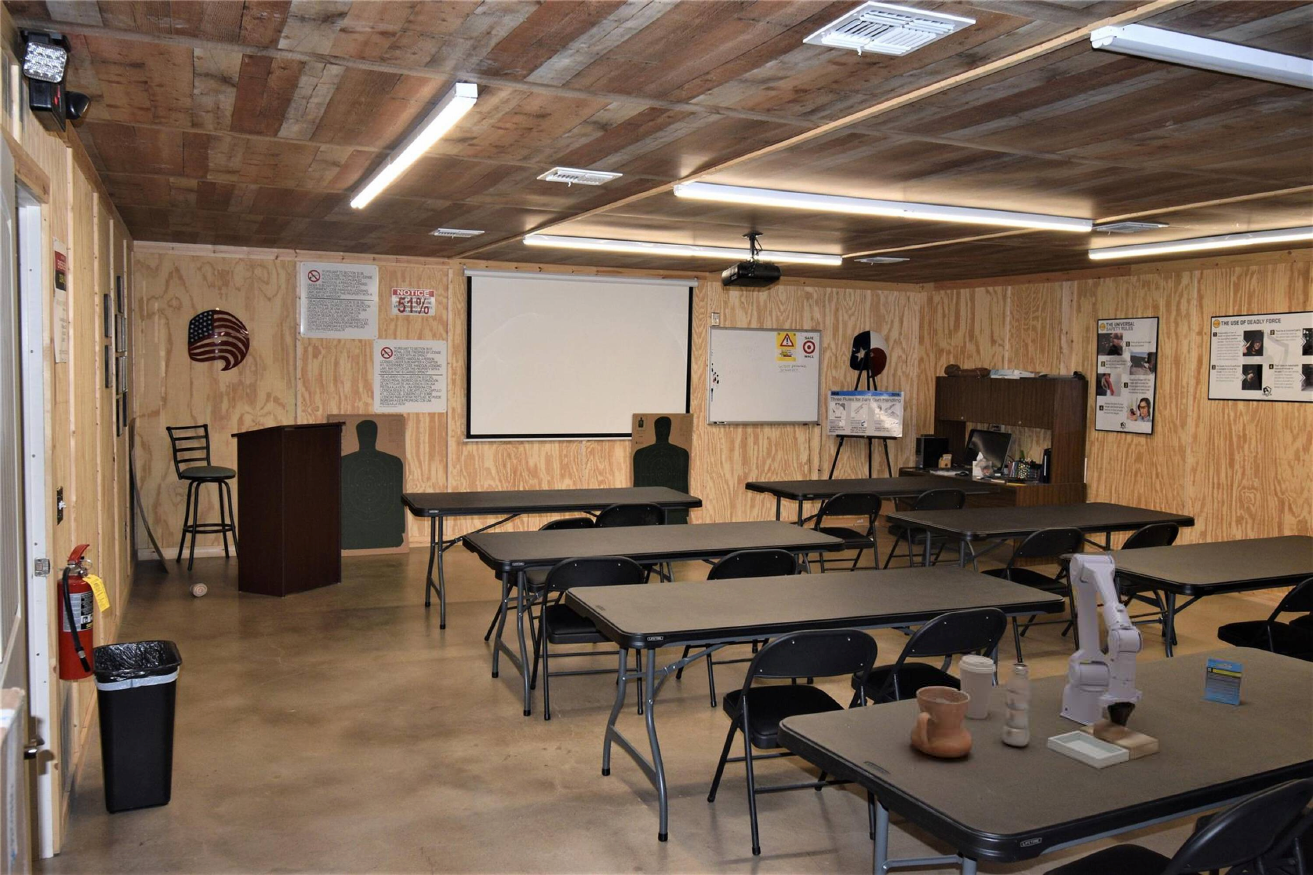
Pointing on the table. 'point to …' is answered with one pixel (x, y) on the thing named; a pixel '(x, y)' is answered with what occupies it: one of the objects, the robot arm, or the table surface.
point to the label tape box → (1223, 681)
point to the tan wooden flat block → (1131, 742)
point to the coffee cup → (977, 683)
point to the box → (1088, 749)
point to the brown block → (1108, 730)
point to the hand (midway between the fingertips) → (1117, 730)
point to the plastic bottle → (1017, 706)
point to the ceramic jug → (942, 723)
